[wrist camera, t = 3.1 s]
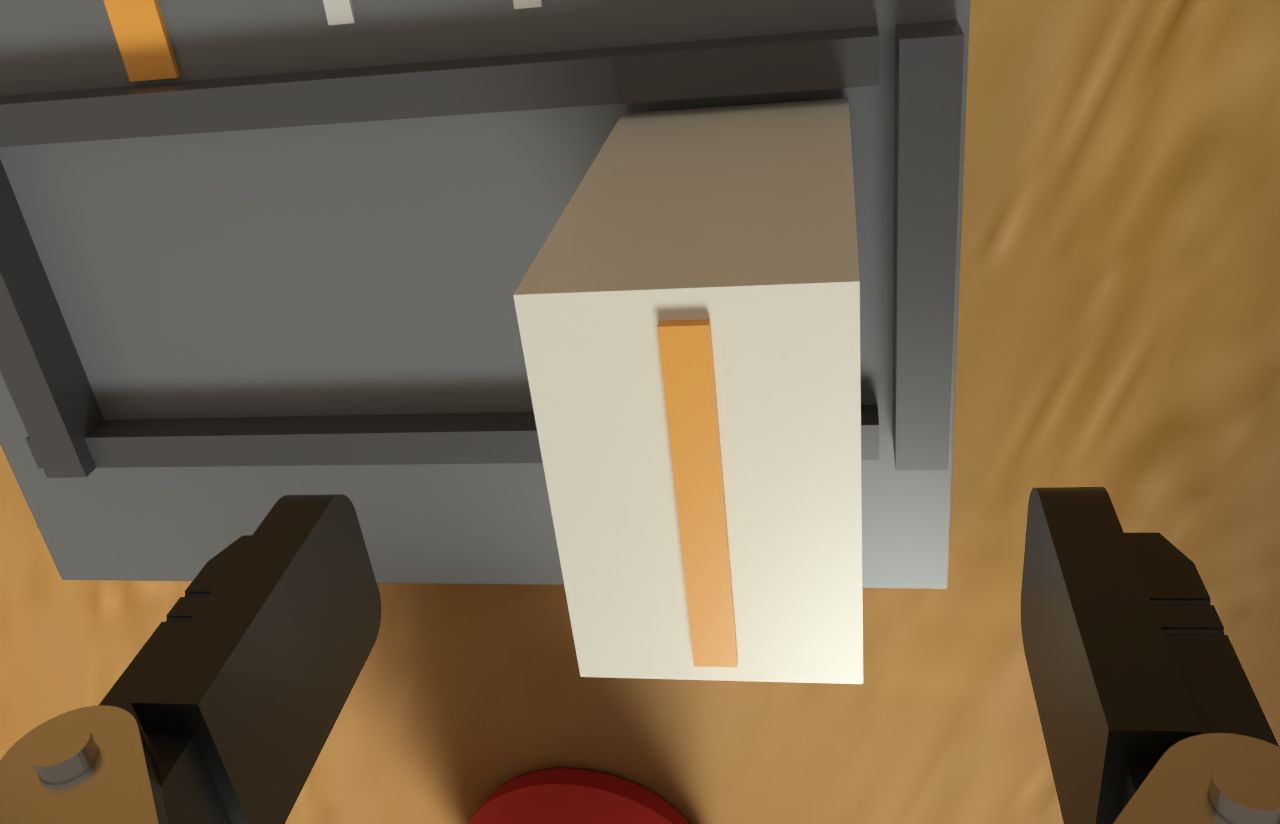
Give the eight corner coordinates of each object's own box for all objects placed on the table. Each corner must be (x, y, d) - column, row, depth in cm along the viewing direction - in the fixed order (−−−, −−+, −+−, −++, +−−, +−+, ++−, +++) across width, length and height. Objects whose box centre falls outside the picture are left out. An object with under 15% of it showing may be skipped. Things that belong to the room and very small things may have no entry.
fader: (848, 97, 19) (859, 287, 12) (852, 399, 22) (863, 691, 15) (622, 113, 20) (509, 300, 13) (655, 403, 23) (578, 684, 16)
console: (965, -250, 18) (990, -253, 15) (939, 534, 26) (952, 625, 23) (-166, -112, 22) (-306, -95, 19) (106, 533, 30) (33, 610, 27)
